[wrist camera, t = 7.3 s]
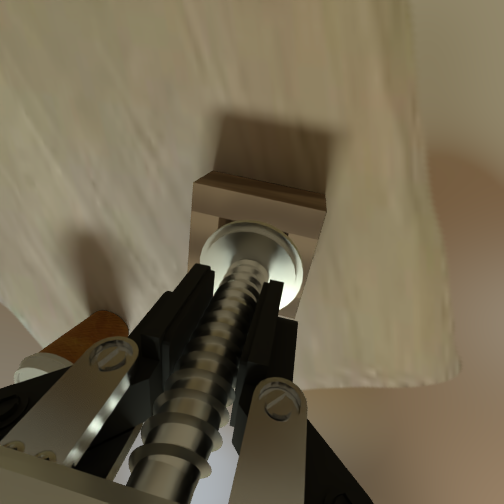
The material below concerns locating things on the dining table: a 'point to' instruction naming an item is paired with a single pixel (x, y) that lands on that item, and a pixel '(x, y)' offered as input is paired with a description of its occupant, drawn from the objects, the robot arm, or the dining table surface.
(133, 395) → the robot arm
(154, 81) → the dining table surface
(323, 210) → the socket block
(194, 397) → the screw
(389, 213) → the dining table surface
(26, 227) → the dining table surface
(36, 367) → the disposable coffee cup
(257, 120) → the dining table surface
